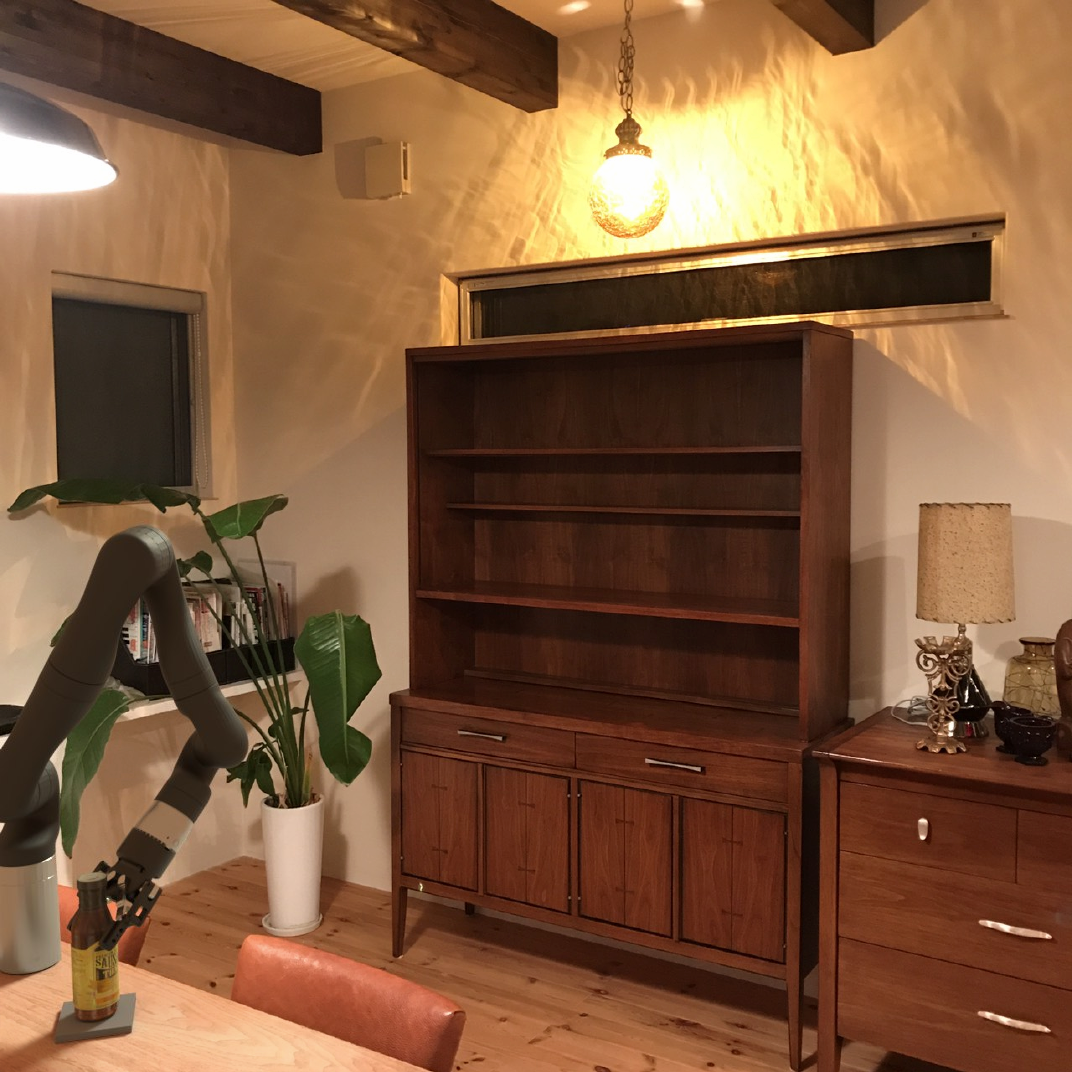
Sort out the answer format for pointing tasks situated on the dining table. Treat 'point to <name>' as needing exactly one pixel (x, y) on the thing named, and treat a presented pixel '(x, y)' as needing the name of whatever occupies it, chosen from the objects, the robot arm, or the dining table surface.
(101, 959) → the sauce bottle
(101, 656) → the robot arm
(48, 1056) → the dining table surface
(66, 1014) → the rubber mat
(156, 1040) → the dining table surface
